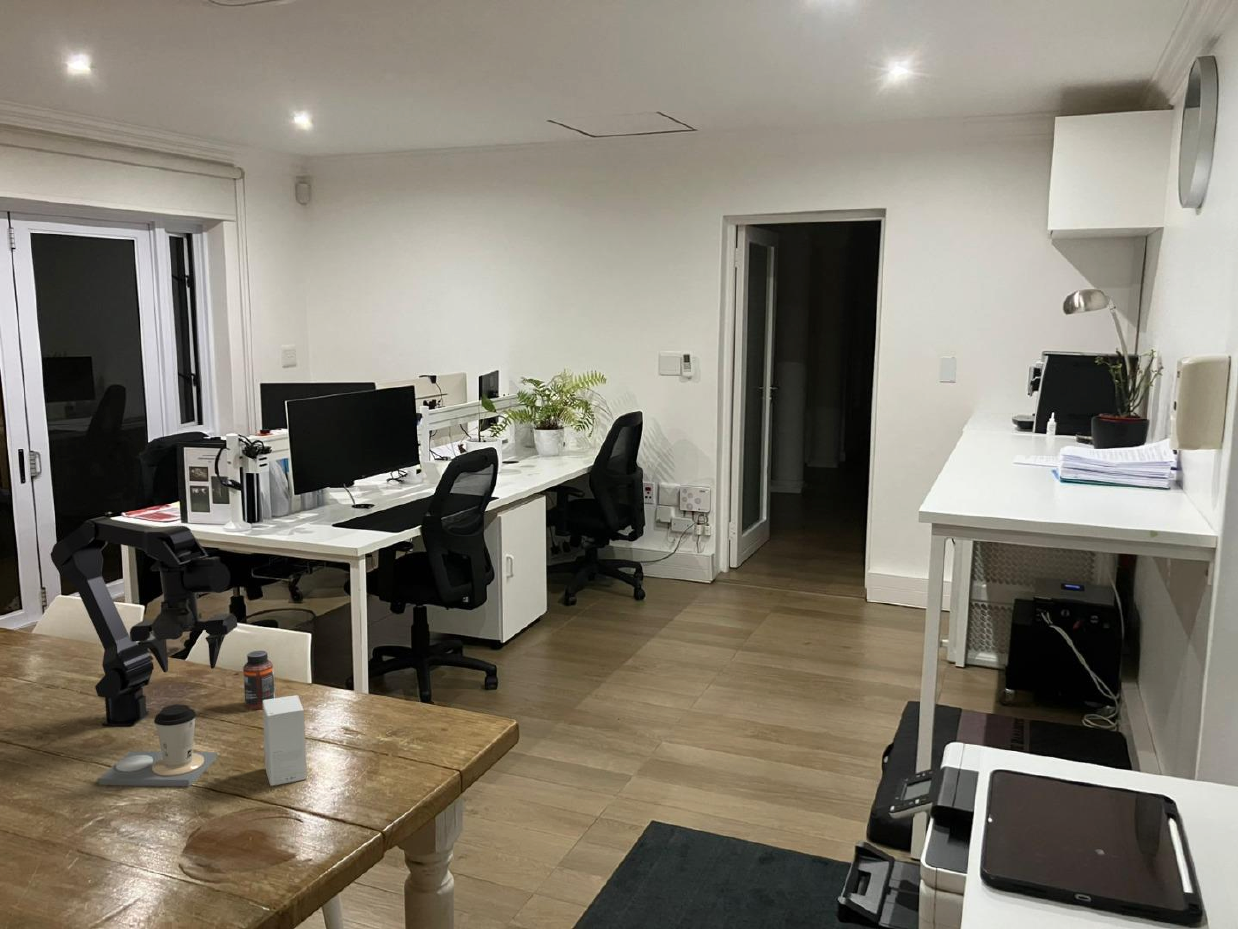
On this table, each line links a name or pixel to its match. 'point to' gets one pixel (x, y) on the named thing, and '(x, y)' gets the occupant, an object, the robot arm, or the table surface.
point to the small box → (284, 740)
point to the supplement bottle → (258, 679)
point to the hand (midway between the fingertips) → (189, 670)
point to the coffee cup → (176, 734)
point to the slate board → (155, 770)
